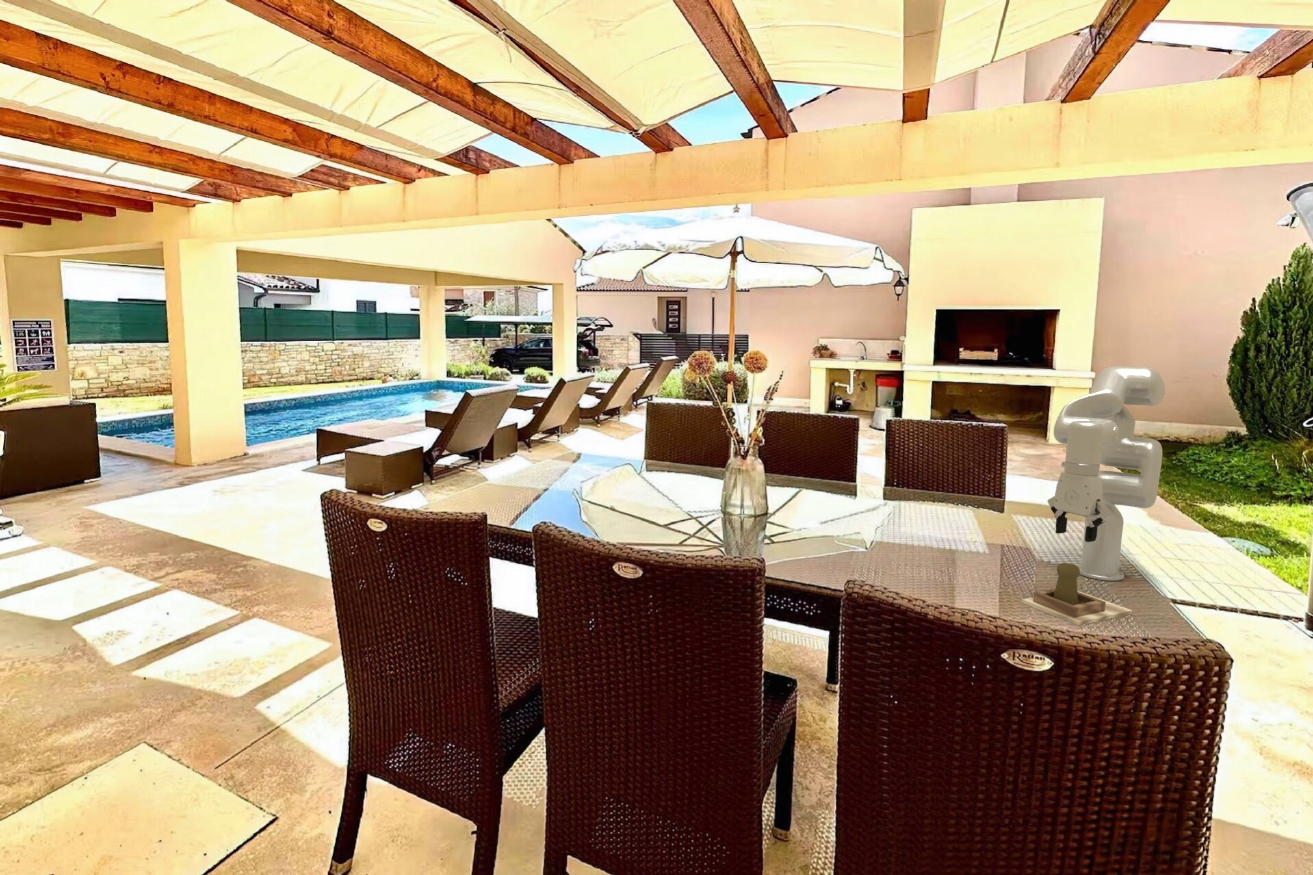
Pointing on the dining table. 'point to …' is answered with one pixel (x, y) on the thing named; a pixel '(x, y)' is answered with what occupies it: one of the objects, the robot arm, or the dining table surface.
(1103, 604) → the socket stand
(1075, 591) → the cork
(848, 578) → the dining table surface
